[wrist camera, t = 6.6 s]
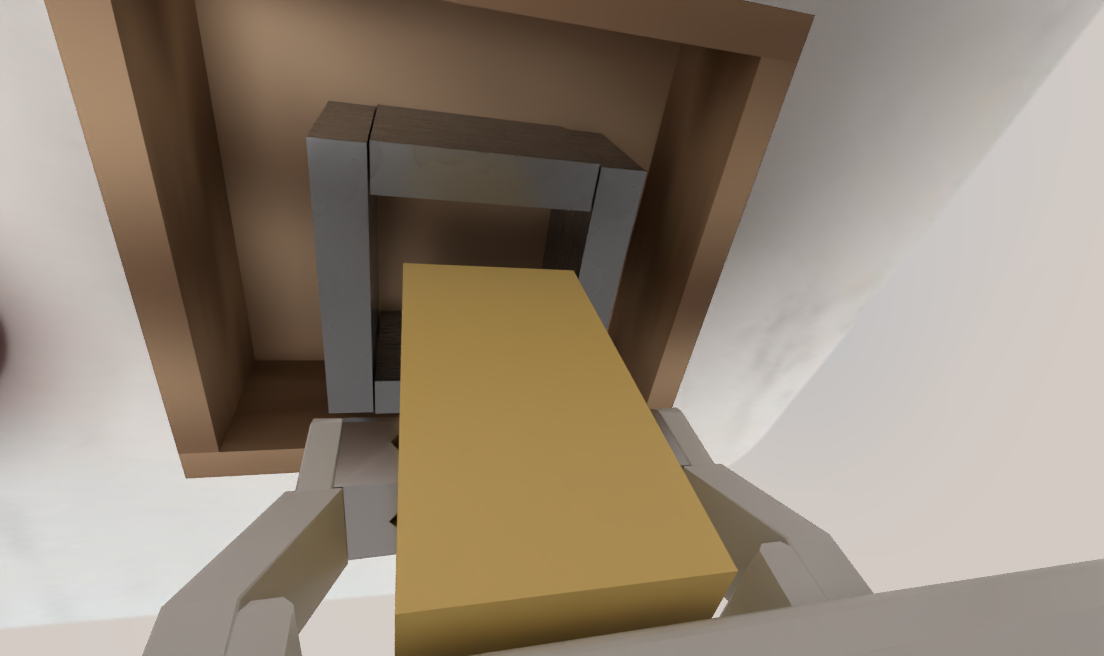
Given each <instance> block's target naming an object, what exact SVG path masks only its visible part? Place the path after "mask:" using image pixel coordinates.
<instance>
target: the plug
mask: <svg viewBox="0 0 1104 656" xmlns="http://www.w3.org/2000/svg"><path fill="white" fill-rule="evenodd" d="M737 572H738V570H737V568H736V566H735V564H734V562H733V560H732V559H731V557H730V555H729V553H728V551H727V549H726V548H725V546H724V544H723V542H722V540H721V539H720V537H719V535H718V533H717V531H716V529H715V528H714V526H713V524H712V522H711V520H710V519H709V517H708V515H707V513H706V511H705V509H704V508H703V506H702V504H701V502H700V500H699V498H698V497H697V495H696V493H695V491H694V489H693V488H692V486H691V484H690V482H689V480H688V478H687V477H686V475H685V473H684V471H683V469H682V467H681V466H680V464H679V462H678V460H677V458H676V457H675V455H674V453H673V451H672V449H671V447H670V446H669V444H668V442H667V440H666V438H665V437H664V435H663V433H662V431H661V429H660V427H659V426H658V424H657V422H656V420H655V418H654V416H653V415H652V413H651V411H650V409H649V407H648V406H647V404H646V402H645V400H644V398H643V396H642V395H641V393H640V391H639V389H638V387H637V385H636V384H635V382H634V380H633V378H632V376H631V375H630V373H629V371H628V369H627V367H626V365H625V364H624V362H623V360H622V358H621V356H620V355H619V353H618V351H617V349H616V347H615V345H614V344H613V342H612V340H611V338H610V336H609V334H608V333H607V331H606V329H605V327H604V325H603V324H602V322H601V320H600V318H599V316H598V314H597V313H596V311H595V309H594V307H593V305H592V303H591V302H590V300H589V298H588V296H587V294H586V293H585V291H584V289H583V287H582V285H581V283H580V282H579V280H578V278H577V276H576V274H575V272H574V271H573V270H550V269H528V268H505V267H482V266H460V265H437V264H414V263H403V293H402V335H401V378H400V420H399V463H398V506H397V548H396V591H395V656H469V655H476V654H482V653H489V652H495V651H502V650H508V649H515V648H522V647H528V646H535V645H541V644H548V643H554V642H561V641H567V640H574V639H580V638H587V637H593V636H600V635H607V634H613V633H620V632H626V631H633V630H639V629H646V628H652V627H659V626H666V625H672V624H679V623H685V622H692V621H698V620H705V619H711V618H712V616H713V615H714V613H715V611H716V609H717V607H718V606H719V604H720V602H721V601H722V599H723V597H724V595H725V593H726V592H727V590H728V588H729V586H730V585H731V583H732V581H733V579H734V578H735V576H736V574H737Z"/></svg>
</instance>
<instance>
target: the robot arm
mask: <svg viewBox="0 0 1104 656" xmlns="http://www.w3.org/2000/svg"><path fill="white" fill-rule="evenodd" d="M650 411H651V413H652V415H653V416H654V418H655V420H656V422H657V424H658V426H659V427H660V429H661V431H662V433H663V435H664V437H665V438H666V440H667V442H668V444H669V446H670V447H671V449H672V451H673V453H674V455H675V457H676V458H677V460H678V462H679V464H680V466H681V467H682V469H683V471H684V473H685V475H686V477H687V478H688V480H689V482H690V484H691V486H692V488H693V489H694V491H695V493H696V495H697V497H698V498H699V500H700V502H701V504H702V506H703V508H704V509H705V511H706V513H707V515H708V517H709V519H710V520H711V522H712V524H713V526H714V528H715V529H716V531H717V533H718V535H719V537H720V539H721V540H722V542H723V544H724V546H725V548H726V549H727V551H728V553H729V555H730V557H731V559H732V560H733V562H734V564H735V566H736V568H737V570H738V572H737V574H736V576H735V578H734V579H733V581H732V583H731V585H730V586H729V588H728V590H727V592H726V593H725V595H724V597H725V598H726V599H727V600H728V603H727V604H726V606H725V608H724V610H723V611H722V613H721V615H720V617H718V618H711V619H705V620H698V621H692V622H685V623H679V624H672V625H666V626H659V627H652V628H646V629H639V630H633V631H626V632H620V633H613V634H607V635H600V636H593V637H587V638H580V639H574V640H567V641H561V642H554V643H548V644H541V645H535V646H528V647H522V648H515V649H508V650H502V651H495V652H489V653H482V654H476V655H469V656H1104V559H1099V560H1092V561H1086V562H1079V563H1073V564H1066V565H1060V566H1053V567H1047V568H1040V569H1033V570H1027V571H1021V572H1014V573H1007V574H1001V575H994V576H987V577H981V578H974V579H968V580H962V581H955V582H948V583H942V584H935V585H928V586H922V587H915V588H909V589H902V590H895V591H889V592H883V593H876V594H874V593H873V592H872V591H871V589H870V588H869V587H868V585H867V584H866V583H865V581H864V580H863V578H862V577H861V576H860V575H859V573H858V572H857V570H856V569H855V568H854V567H853V565H852V564H851V562H850V561H849V560H848V559H847V557H846V556H845V554H844V553H843V552H842V550H841V549H840V548H839V546H838V545H837V544H836V542H835V541H834V540H833V538H832V537H831V536H830V534H828V533H827V532H825V531H824V530H822V529H820V528H818V527H817V526H816V525H814V524H813V523H811V522H810V521H808V520H807V519H805V518H804V517H802V516H800V515H799V514H797V513H795V512H794V511H793V510H791V509H790V508H788V507H787V506H785V505H784V504H782V503H781V502H779V501H777V500H776V499H774V498H773V497H771V496H770V495H768V494H766V493H765V492H764V491H762V490H760V489H759V488H757V487H756V486H754V485H753V484H751V483H750V482H748V481H747V480H745V479H744V478H742V477H741V476H739V475H737V474H736V473H734V472H733V471H731V470H730V469H728V468H727V467H725V466H724V465H722V464H714V462H713V461H712V459H711V457H710V456H709V454H708V453H707V451H706V449H705V448H704V446H703V445H702V443H701V441H700V440H699V438H698V437H697V435H696V434H695V432H694V430H693V429H692V427H691V426H690V424H689V422H688V421H687V419H686V418H685V416H684V415H683V413H682V412H681V410H679V409H678V408H659V409H650ZM399 420H400V417H379V418H344V419H342V418H328V419H313V421H312V422H311V424H310V427H309V432H308V436H307V441H306V445H305V450H304V454H303V459H302V463H301V468H300V472H299V477H298V481H297V486H296V490H295V491H288V492H285V493H284V494H283V495H282V496H281V497H279V498H278V499H277V500H276V501H275V502H274V503H273V504H272V505H271V506H270V507H269V508H268V509H267V510H266V511H264V512H263V513H262V514H261V515H260V516H259V517H258V518H257V519H256V520H255V521H254V522H253V523H252V524H251V525H249V526H248V527H247V528H246V529H245V530H244V531H243V532H242V533H241V534H240V535H239V536H238V537H237V538H235V539H234V540H233V541H232V542H231V543H230V544H229V545H228V546H227V547H226V548H225V549H224V550H223V551H222V552H220V553H219V554H218V555H217V556H216V557H215V558H214V559H213V560H212V561H211V562H210V563H209V564H208V565H207V566H205V567H204V568H203V569H202V570H201V571H200V572H199V573H198V574H197V575H196V576H195V577H194V578H193V579H191V580H190V581H189V582H188V583H187V584H186V585H185V586H184V587H183V588H182V589H181V590H180V591H179V592H178V593H176V594H175V595H174V596H173V597H172V598H171V599H170V600H169V601H168V602H167V603H166V604H165V605H164V606H162V607H161V610H160V612H159V615H158V617H157V620H156V622H155V625H154V627H153V630H152V632H151V635H150V637H149V640H148V642H147V645H146V647H145V650H144V653H143V655H142V656H302V654H301V648H300V642H299V636H298V634H299V633H300V631H301V630H302V629H303V627H304V626H305V624H306V623H307V621H308V620H309V618H310V617H311V615H312V614H313V612H314V611H315V610H316V608H317V607H318V606H319V604H320V603H321V601H322V600H323V598H324V597H325V595H326V594H327V593H328V591H329V590H330V588H331V587H332V585H333V584H334V583H335V581H336V580H337V578H338V577H339V575H340V574H341V572H342V571H343V570H344V568H345V567H346V565H347V564H348V560H354V559H362V558H370V557H378V556H386V555H394V554H396V548H397V506H398V463H399Z"/></svg>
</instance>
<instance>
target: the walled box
mask: <svg viewBox="0 0 1104 656" xmlns="http://www.w3.org/2000/svg"><path fill="white" fill-rule="evenodd" d="M44 2H45V5H46V9H47V12H48V15H49V19H50V22H51V25H52V29H53V32H54V36H55V39H56V42H57V46H58V49H59V52H60V56H61V59H62V63H63V66H64V69H65V73H66V76H67V79H68V83H69V86H70V89H71V93H72V96H73V100H74V103H75V106H76V110H77V113H78V116H79V120H80V123H81V127H82V130H83V133H84V137H85V140H86V143H87V147H88V150H89V154H90V157H91V160H92V164H93V167H94V170H95V174H96V177H97V181H98V184H99V187H100V191H101V194H102V197H103V201H104V204H105V207H106V211H107V214H108V218H109V221H110V224H111V228H112V231H113V234H114V238H115V241H116V245H117V248H118V251H119V255H120V258H121V261H122V265H123V268H124V272H125V275H126V278H127V282H128V285H129V288H130V292H131V295H132V299H133V302H134V305H135V309H136V312H137V315H138V319H139V322H140V325H141V329H142V332H143V336H144V339H145V342H146V346H147V349H148V352H149V356H150V359H151V363H152V366H153V369H154V373H155V376H156V379H157V383H158V386H159V390H160V393H161V396H162V400H163V403H164V406H165V410H166V413H167V417H168V420H169V423H170V427H171V430H172V433H173V437H174V440H175V443H176V447H177V450H178V454H179V457H180V460H181V464H182V467H183V470H184V474H185V477H186V478H203V477H222V476H240V475H259V474H277V473H295V472H300V468H301V463H302V459H303V454H304V450H305V445H306V441H307V436H308V432H309V427H310V424H311V422H312V421H313V419H328V418H342V419H344V418H379V417H400V413H380V414H376V413H375V398H374V410H373V412H360V413H329V408H328V396H327V384H326V372H325V360H324V348H323V336H322V324H321V312H320V300H319V288H318V276H317V264H316V252H315V240H314V228H313V216H312V204H311V192H310V180H309V168H308V156H307V144H306V136H307V134H308V133H309V131H310V130H311V128H312V126H313V125H314V123H315V122H316V120H317V118H318V117H319V115H320V114H321V112H322V111H323V109H324V107H325V106H326V104H327V103H328V101H336V102H344V103H352V104H361V105H369V106H376V111H377V107H378V104H380V105H388V106H396V107H405V108H413V109H421V110H429V111H438V112H446V113H454V114H463V115H471V116H479V117H487V118H496V119H504V120H512V121H520V122H529V123H537V124H545V125H553V126H562V127H564V128H565V129H569V130H577V131H586V132H594V133H602V134H603V135H604V136H605V137H606V138H608V139H609V140H610V141H611V142H612V143H614V144H615V145H616V146H617V147H618V148H619V149H621V150H622V151H623V152H624V153H625V154H627V155H628V156H629V157H630V158H631V159H632V160H634V161H635V162H636V163H637V164H638V165H640V166H641V167H642V168H643V169H644V170H645V171H647V173H646V177H645V181H644V185H643V189H642V193H641V197H640V201H639V205H638V209H637V213H636V217H635V220H634V224H633V228H632V232H631V236H630V240H629V244H628V248H627V252H626V256H625V260H624V264H623V268H622V272H621V276H620V280H619V284H618V288H617V292H616V295H615V299H614V303H613V307H612V311H611V315H610V319H609V323H608V327H607V333H608V334H609V336H610V338H611V340H612V342H613V344H614V345H615V347H616V349H617V351H618V353H619V355H620V356H621V358H622V360H623V362H624V364H625V365H626V367H627V369H628V371H629V373H630V375H631V376H632V378H633V380H634V382H635V384H636V385H637V387H638V389H639V391H640V393H641V395H642V396H643V398H644V400H645V402H646V404H647V406H648V407H649V409H659V408H672V406H673V404H674V401H675V398H676V395H677V393H678V390H679V387H680V384H681V382H682V379H683V376H684V373H685V371H686V368H687V365H688V362H689V360H690V357H691V354H692V351H693V349H694V346H695V343H696V340H697V338H698V335H699V332H700V329H701V327H702V324H703V321H704V318H705V316H706V313H707V310H708V307H709V305H710V302H711V299H712V296H713V294H714V291H715V288H716V285H717V283H718V280H719V277H720V274H721V272H722V269H723V266H724V263H725V261H726V258H727V255H728V252H729V250H730V247H731V244H732V241H733V239H734V236H735V233H736V231H737V228H738V225H739V222H740V220H741V217H742V214H743V211H744V209H745V206H746V203H747V200H748V198H749V195H750V192H751V189H752V187H753V184H754V181H755V178H756V176H757V173H758V170H759V167H760V165H761V162H762V159H763V156H764V154H765V151H766V148H767V145H768V143H769V140H770V137H771V134H772V132H773V129H774V126H775V123H776V121H777V118H778V115H779V112H780V110H781V107H782V104H783V101H784V99H785V96H786V93H787V90H788V88H789V85H790V82H791V79H792V77H793V74H794V71H795V68H796V66H797V63H798V60H799V57H800V55H801V52H802V49H803V46H804V44H805V41H806V38H807V35H808V33H809V30H810V27H811V24H812V22H813V19H814V16H815V15H811V14H806V13H801V12H796V11H792V10H787V9H782V8H777V7H772V6H768V5H763V4H758V3H753V2H748V1H744V0H44ZM550 213H551V209H550V208H537V207H524V206H511V205H498V204H485V203H472V202H459V201H446V200H433V199H420V198H407V197H394V196H381V195H377V214H378V278H379V326H380V315H381V310H388V311H402V293H403V263H414V264H437V265H460V266H482V267H505V268H528V269H541V268H542V262H543V256H544V249H545V243H546V237H547V231H548V225H549V219H550Z"/></svg>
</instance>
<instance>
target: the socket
mask: <svg viewBox="0 0 1104 656" xmlns="http://www.w3.org/2000/svg"><path fill="white" fill-rule="evenodd" d="M306 144H307V156H308V168H309V180H310V192H311V204H312V216H313V228H314V240H315V252H316V264H317V276H318V288H319V300H320V312H321V324H322V336H323V348H324V360H325V372H326V384H327V396H328V408H329V413H360V412H373V410H374V398H375V413H376V414H380V413H400V378H401V335H402V311H388V310H381V315H380V326H379V278H378V214H377V195H381V196H394V197H407V198H420V199H433V200H446V201H459V202H472V203H485V204H498V205H511V206H524V207H537V208H550V209H551V213H550V219H549V225H548V231H547V237H546V243H545V249H544V256H543V262H542V268H541V269H550V270H573V271H574V272H575V274H576V276H577V278H578V280H579V282H580V283H581V285H582V287H583V289H584V291H585V293H586V294H587V296H588V298H589V300H590V302H591V303H592V305H593V307H594V309H595V311H596V313H597V314H598V316H599V318H600V320H601V322H602V324H603V325H604V327H605V329H606V331H607V327H608V323H609V319H610V315H611V311H612V307H613V303H614V299H615V295H616V292H617V288H618V284H619V280H620V276H621V272H622V268H623V264H624V260H625V256H626V252H627V248H628V244H629V240H630V236H631V232H632V228H633V224H634V220H635V217H636V213H637V209H638V205H639V201H640V197H641V193H642V189H643V185H644V181H645V177H646V173H647V171H645V170H644V169H643V168H642V167H641V166H640V165H638V164H637V163H636V162H635V161H634V160H632V159H631V158H630V157H629V156H628V155H627V154H625V153H624V152H623V151H622V150H621V149H619V148H618V147H617V146H616V145H615V144H614V143H612V142H611V141H610V140H609V139H608V138H606V137H605V136H604V135H603V134H602V133H594V132H586V131H577V130H569V129H565V128H564V127H562V126H553V125H545V124H537V123H529V122H520V121H512V120H504V119H496V118H487V117H479V116H471V115H463V114H454V113H446V112H438V111H429V110H421V109H413V108H405V107H396V106H388V105H380V104H378V107H377V111H376V106H369V105H361V104H352V103H344V102H336V101H328V103H327V104H326V106H325V107H324V109H323V111H322V112H321V114H320V115H319V117H318V118H317V120H316V122H315V123H314V125H313V126H312V128H311V130H310V131H309V133H308V134H307V136H306Z"/></svg>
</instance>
